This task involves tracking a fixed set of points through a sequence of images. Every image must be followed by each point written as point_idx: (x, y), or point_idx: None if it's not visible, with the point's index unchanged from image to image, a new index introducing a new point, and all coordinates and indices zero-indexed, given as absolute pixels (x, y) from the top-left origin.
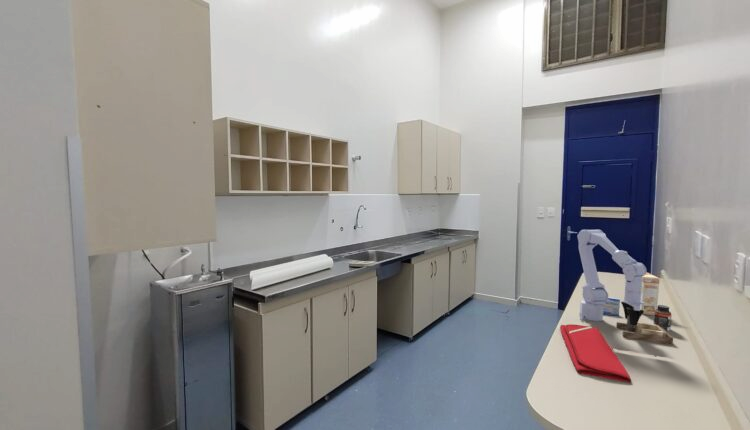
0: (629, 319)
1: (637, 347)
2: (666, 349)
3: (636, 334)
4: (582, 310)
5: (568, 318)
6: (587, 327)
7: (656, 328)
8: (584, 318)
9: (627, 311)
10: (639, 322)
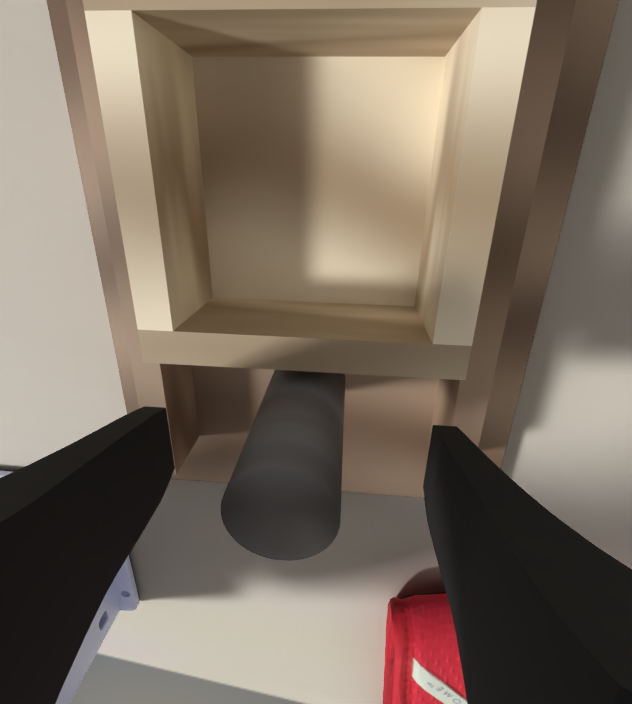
0: (439, 563)
1: (619, 375)
2: (618, 66)
3: (488, 380)
4: (70, 698)
5: (131, 653)
6: (436, 695)
7: (191, 27)
8: (110, 608)
9: (99, 556)
10: (132, 277)
